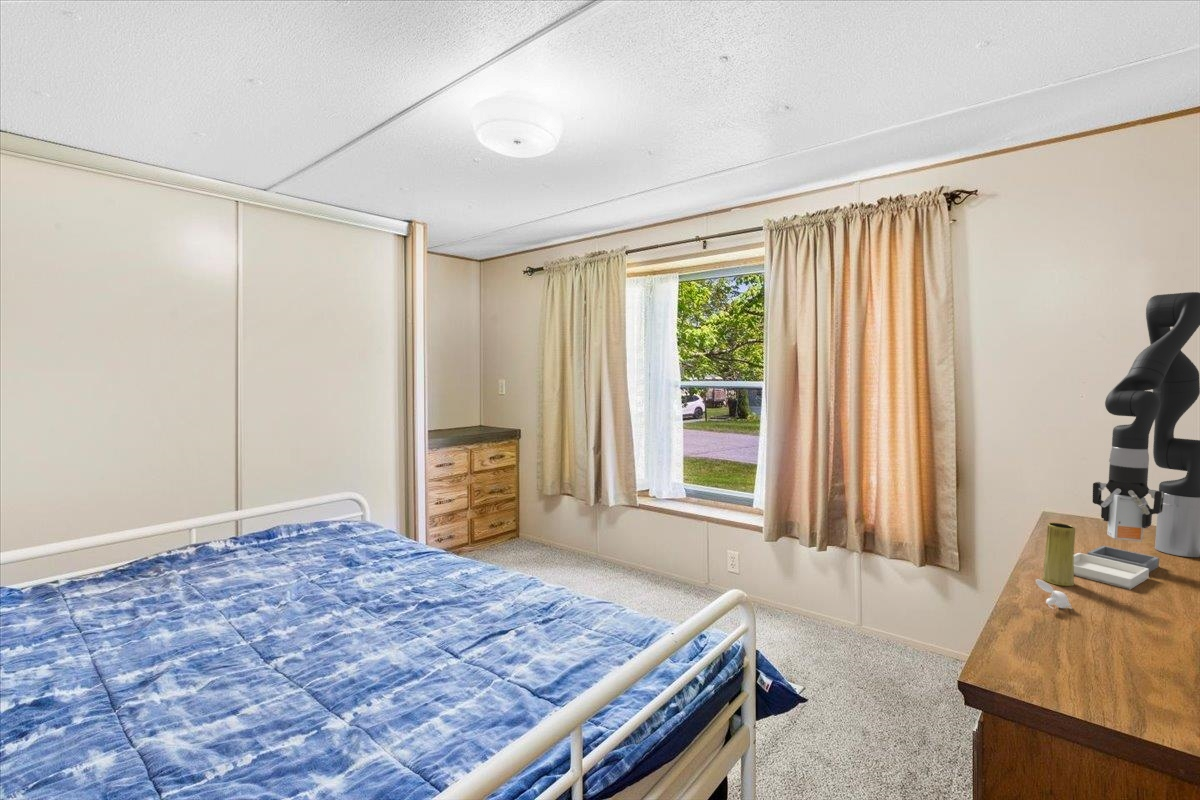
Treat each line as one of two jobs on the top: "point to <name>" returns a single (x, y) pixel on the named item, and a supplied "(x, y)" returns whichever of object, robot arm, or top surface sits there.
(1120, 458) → the robot arm
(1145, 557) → the frame
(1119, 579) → the tray
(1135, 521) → the skincare box
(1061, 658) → the top surface
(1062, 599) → the rabbit figurine
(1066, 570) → the vase
